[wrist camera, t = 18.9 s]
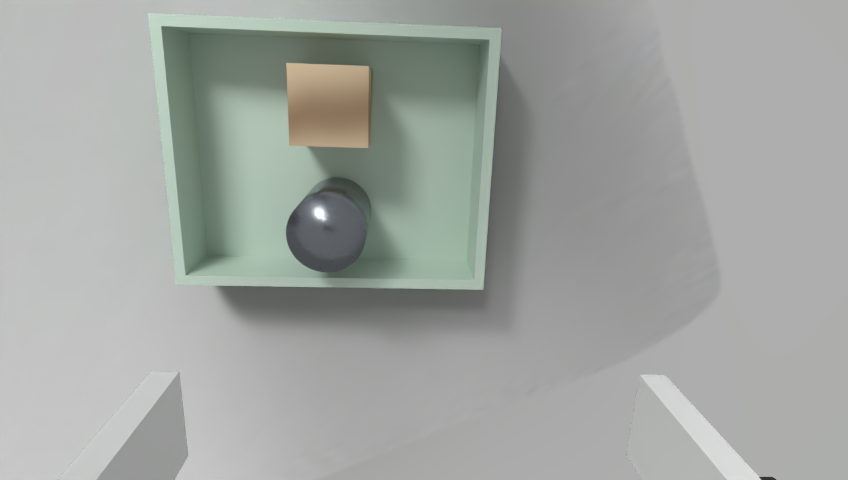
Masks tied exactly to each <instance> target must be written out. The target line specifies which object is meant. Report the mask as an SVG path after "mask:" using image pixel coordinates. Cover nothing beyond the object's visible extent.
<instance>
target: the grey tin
mask: <svg viewBox="0 0 848 480" xmlns="http://www.w3.org/2000/svg"><path fill="white" fill-rule="evenodd" d="M370 217H371V204H370V200H369V198H368V196H367V194H366V192H365V191H364V190H363V189H362V187H361V186H359V185H358V184H357V183H355V182H354V181H352V180H349V179H346V178H341V177H332V178H328V179H325V180H322V181H320V182H319V183H317V184H316V185H315V186H314V187H313V188H312V189H311V190H310V192H309V193H308V194H307V195H306V196H305V198H304V199H303V200H302V201H301V202H300V203H299V205H298V206H297V207H296V208H295V209H294V211H293V212H292V213H291V215H290V217H289V219H288V222H287V226H286V240H287V244H288V246H289V249H290V251H291V252H292V254H293V255H294V257H295V258H296V259H297V260H298V261H299V262H300V263H301V264H303V265H304V266H306V267H308V268H310V269H312V270H315V271H319V272H336V271H339V270H342V269H345V268H347V267H348V266H350V265H351V264H353V263H354V262H355V261H356V260H357V259H358V257H359V256H360V254H361V253H362V251H363V248H364V245H365V241H366V236H367V231H368V227H369V222H370Z"/></svg>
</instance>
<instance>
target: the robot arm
mask: <svg viewBox="0 0 848 480" xmlns="http://www.w3.org/2000/svg"><path fill="white" fill-rule="evenodd" d="M626 455H627V457H628V459H629V460H630V462H631V464H632V465H633V467H634V468H635V470H636V471H637V473H638V475H639V476H640V478H641V480H776V479H775V478H773V477H758V476H757V474H755V472H754V471H753V470H752V469H751V468H750V467H749V466H748V465H747V464H746V463H745V461H744V460H743V459H742V458H741V457H740V456H739V455H738V454H737V453H736V452H735V451H734V449H733V448H732V447H731V446H730V445H729V444H728V443H727V442H726V441H725V440H724V439H723V438H722V436H721V435H719V433H718V432H717V431H716V430H715V429H714V428H713V427H712V426H711V424H709V422H708V421H707V420H706V419H705V418H704V417H703V416H702V415H701V414H700V412H699V411H698V410H697V409H696V408H695V407H694V406H693V405H692V404H691V403H690V402H689V401H688V399H687V398H686V397H685V396H684V395H683V394H682V393H681V392H680V391H679V390H678V389H677V387H675V385H674V384H673V383H672V382H671V381H670V380H669V379H668V378H667V377H666V376H665V375H639V381H638V387H637V393H636V399H635V405H634V410H633V416H632V422H631V428H630V434H629V441H628V446H627V453H626ZM187 457H188V449H187V439H186V430H185V420H184V411H183V402H182V392H181V383H180V373H179V372H158V371H151V372H150V373H149V374H148V376H147V377H146V378H145V379H144V380H143V381H142V383H141V384H140V385H139V386H138V387H137V388H136V389H135V391H134V392H133V393H132V394H131V395H130V396H129V398H128V399H127V400H126V401H125V402H124V403H123V404H122V406H121V407H120V408H119V409H118V410H117V411H116V413H115V414H114V415H113V416H112V417H111V418H110V419H109V421H108V422H107V423H106V424H105V425H104V426H103V427H102V429H101V430H100V431H99V432H98V433H97V434H96V436H95V437H94V438H93V439H92V440H91V441H90V442H89V444H88V445H87V446H86V447H85V448H84V449H83V451H82V452H81V453H80V454H79V455H78V456H77V457H76V459H75V460H74V461H73V462H72V463H71V464H70V466H69V467H68V468H67V469H66V470H65V471H64V472H63V474H62V475H61V476H60V477H59V478H58V479H57V480H174V479H175V478H176V476H177V474H178V472H179V471H180V469H181V467H182V465H183V464H184V462H185V460H186V458H187Z"/></svg>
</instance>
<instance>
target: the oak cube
mask: <svg viewBox="0 0 848 480" xmlns="http://www.w3.org/2000/svg"><path fill="white" fill-rule="evenodd" d="M286 66H287V95H288V123H289V146H316V147H349V148H368V147H369V145H370V143H371V141H372V78H373V69H372V68H371V67H369V66H353V65H328V64H302V63H286Z"/></svg>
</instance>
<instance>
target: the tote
mask: <svg viewBox="0 0 848 480" xmlns="http://www.w3.org/2000/svg"><path fill="white" fill-rule="evenodd" d="M148 19H149V29H150V39H151V48H152V58H153V68H154V77H155V87H156V97H157V106H158V116H159V126H160V135H161V145H162V155H163V164H164V174H165V184H166V193H167V203H168V213H169V223H170V232H171V242H172V252H173V261H174V271H175V281H176V285H211V286H275V287H340V288H404V289H469V290H483V287H484V273H485V259H486V245H487V231H488V216H489V202H490V188H491V174H492V160H493V146H494V132H495V118H496V103H497V89H498V75H499V61H500V47H501V33H502V28H489V27H466V26H442V25H418V24H395V23H371V22H348V21H324V20H301V19H277V18H254V17H230V16H206V15H183V14H159V13H148ZM286 63H302V64H328V65H353V66H369V67H371V68H372V69H373V78H372V141H371V143H370V145H369V147H368V148H349V147H316V146H289V123H288V95H287V66H286ZM332 177H341V178H346V179H349V180H352V181H354V182H355V183H357V184H358V185H359V186H361V187H362V189H363V190H364V191H365V192H366V194H367V196H368V198H369V200H370V204H371V217H370V222H369V227H368V231H367V236H366V241H365V245H364V248H363V251H362V253H361V254H360V256H359V257H358V259H357V260H356V261H355V262H354V263H353V264H351V265H350V266H348V267H347V268H345V269H342V270H339V271H336V272H319V271H315V270H312V269H310V268H308V267H306V266H304V265H303V264H301V263H300V262H299V261H298V260H297V259H296V258H295V257H294V255H293V254H292V252H291V251H290V249H289V246H288V244H287V240H286V226H287V222H288V219H289V217H290V215H291V213H292V212H293V211H294V209H295V208H296V207H297V206H298V205H299V203H300V202H301V201H302V200H303V199H304V198H305V196H306V195H307V194H308V193H309V192H310V190H311V189H312V188H313V187H314V186H315V185H316V184H317V183H319V182H320V181H322V180H325V179H328V178H332Z"/></svg>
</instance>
